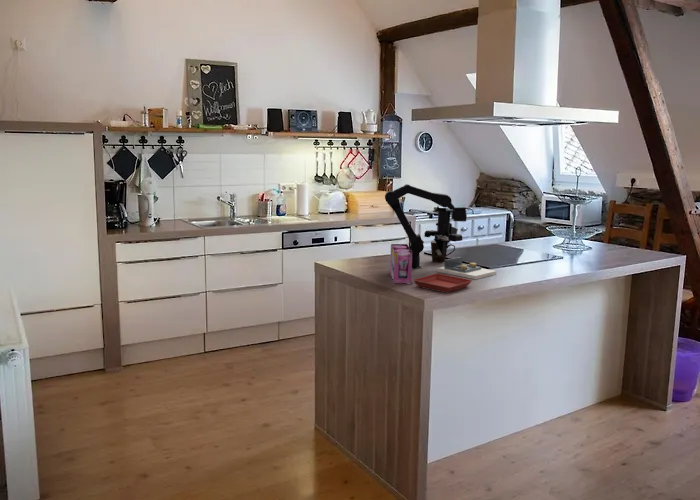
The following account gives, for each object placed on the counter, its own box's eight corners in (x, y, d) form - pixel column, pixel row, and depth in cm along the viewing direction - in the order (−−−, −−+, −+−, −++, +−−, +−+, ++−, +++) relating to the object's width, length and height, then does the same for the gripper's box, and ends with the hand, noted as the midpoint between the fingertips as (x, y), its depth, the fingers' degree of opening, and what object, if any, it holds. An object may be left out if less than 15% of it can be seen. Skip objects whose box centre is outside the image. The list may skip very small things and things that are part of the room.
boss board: (475, 279, 277) (475, 270, 276) (436, 271, 292) (436, 262, 292) (496, 274, 287) (496, 265, 287) (457, 266, 303) (457, 258, 302)
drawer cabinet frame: (465, 272, 283) (465, 263, 282) (444, 268, 291) (444, 259, 290) (481, 269, 291) (481, 260, 290) (460, 265, 299) (460, 256, 299)
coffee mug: (427, 262, 314) (428, 242, 312) (433, 259, 321) (434, 239, 320) (449, 264, 309) (450, 244, 307) (455, 261, 316) (456, 241, 314)
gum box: (412, 285, 265) (413, 253, 262) (393, 284, 265) (394, 253, 262) (407, 273, 288) (407, 243, 286) (389, 272, 288) (390, 243, 286)
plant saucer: (472, 287, 263) (472, 279, 263) (448, 295, 250) (449, 287, 249) (436, 280, 275) (436, 273, 274) (412, 287, 262) (412, 279, 261)
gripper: (470, 221, 295) (468, 254, 297) (439, 217, 308) (437, 249, 311) (455, 223, 287) (454, 257, 290) (424, 219, 300) (423, 251, 303)
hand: (442, 253), depth 299 cm, fingers closed
